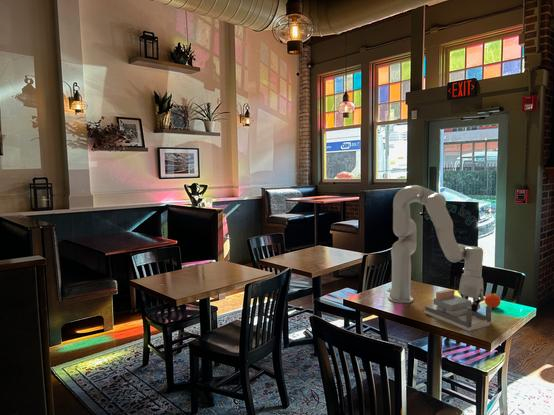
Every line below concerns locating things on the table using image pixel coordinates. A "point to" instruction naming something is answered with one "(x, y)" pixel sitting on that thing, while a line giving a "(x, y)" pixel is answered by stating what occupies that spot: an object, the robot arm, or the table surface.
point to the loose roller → (471, 306)
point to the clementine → (492, 300)
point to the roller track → (461, 317)
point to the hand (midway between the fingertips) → (470, 309)
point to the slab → (450, 300)
